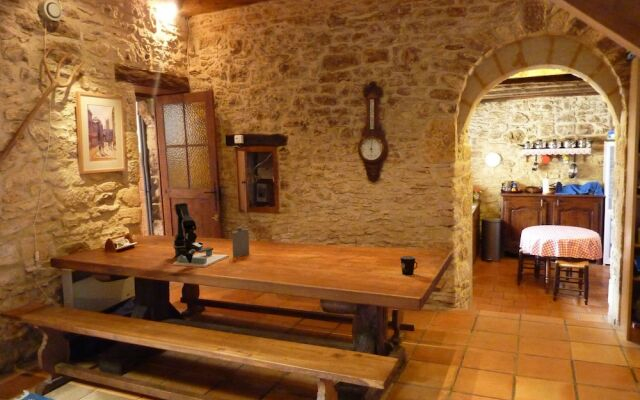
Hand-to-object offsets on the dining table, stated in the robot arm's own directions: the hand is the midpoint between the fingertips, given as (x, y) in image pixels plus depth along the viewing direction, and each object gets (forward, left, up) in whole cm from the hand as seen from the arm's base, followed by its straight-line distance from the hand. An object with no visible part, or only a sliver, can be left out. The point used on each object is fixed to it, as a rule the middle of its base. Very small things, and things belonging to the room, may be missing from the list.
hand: (190, 262), depth 313 cm
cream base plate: (-1, +16, -2) cm, 16 cm away
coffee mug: (+138, +13, -3) cm, 138 cm away
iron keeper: (-5, +25, -1) cm, 25 cm away
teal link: (-3, +6, -1) cm, 7 cm away
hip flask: (+17, +38, -3) cm, 42 cm away
